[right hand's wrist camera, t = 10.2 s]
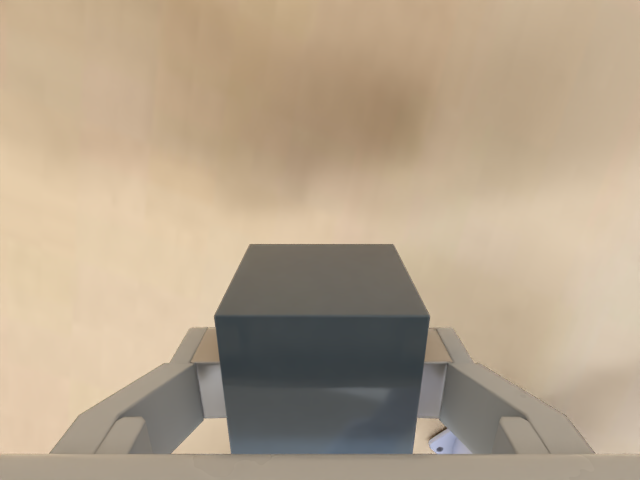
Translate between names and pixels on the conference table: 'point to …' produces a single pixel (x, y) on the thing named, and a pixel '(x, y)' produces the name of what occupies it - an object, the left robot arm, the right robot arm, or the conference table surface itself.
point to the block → (321, 350)
